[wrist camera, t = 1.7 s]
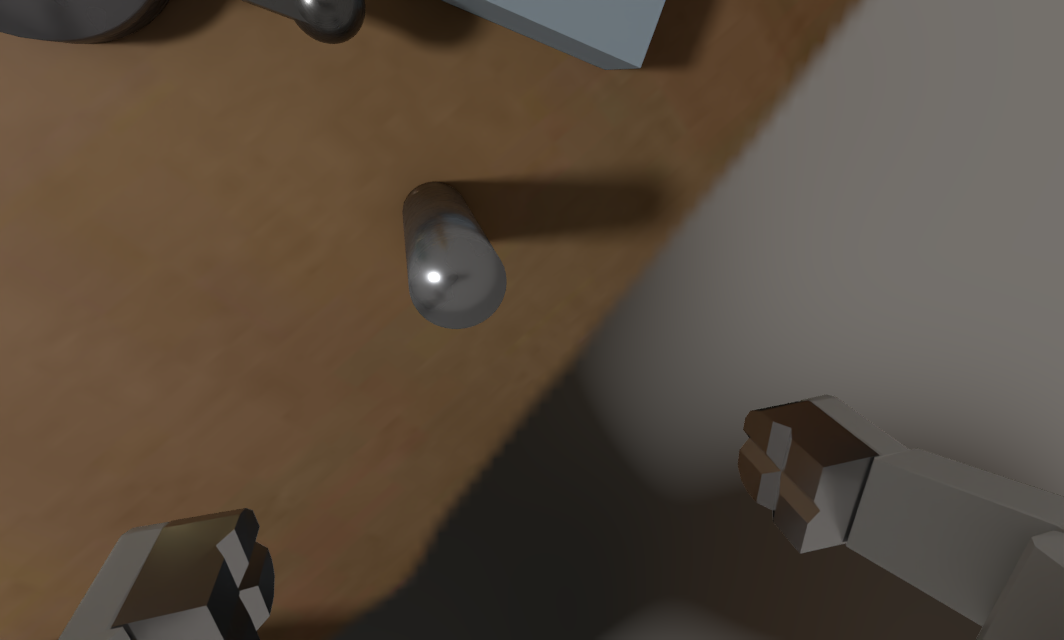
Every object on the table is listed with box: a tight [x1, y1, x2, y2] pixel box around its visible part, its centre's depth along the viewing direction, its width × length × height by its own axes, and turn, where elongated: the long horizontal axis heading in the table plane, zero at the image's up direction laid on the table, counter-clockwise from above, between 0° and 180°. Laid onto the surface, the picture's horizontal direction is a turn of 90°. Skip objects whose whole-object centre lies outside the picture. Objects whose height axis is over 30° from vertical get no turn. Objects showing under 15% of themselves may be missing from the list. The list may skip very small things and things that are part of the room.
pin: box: [403, 182, 506, 329], centre depth 21 cm, size 3×3×10 cm
